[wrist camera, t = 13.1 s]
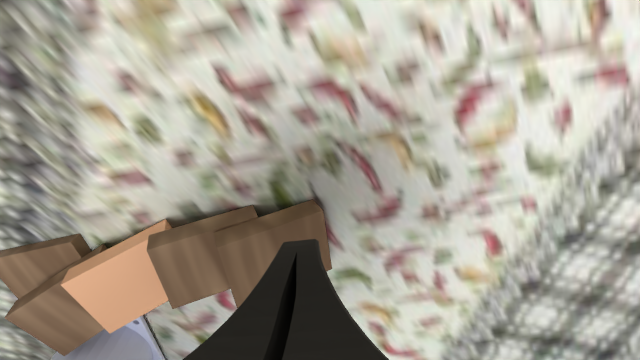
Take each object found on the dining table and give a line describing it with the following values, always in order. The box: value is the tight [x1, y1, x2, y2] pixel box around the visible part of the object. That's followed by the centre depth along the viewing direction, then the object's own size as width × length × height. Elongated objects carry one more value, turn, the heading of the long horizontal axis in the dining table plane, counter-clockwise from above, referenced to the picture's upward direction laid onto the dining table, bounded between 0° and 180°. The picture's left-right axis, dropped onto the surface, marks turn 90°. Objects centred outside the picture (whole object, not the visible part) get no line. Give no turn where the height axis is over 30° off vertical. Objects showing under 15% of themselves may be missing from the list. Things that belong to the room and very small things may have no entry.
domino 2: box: [5, 244, 108, 356], centre depth 25 cm, size 2×5×7 cm
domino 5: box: [213, 199, 332, 308], centre depth 23 cm, size 2×5×7 cm
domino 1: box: [0, 234, 92, 299], centre depth 27 cm, size 2×5×7 cm
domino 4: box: [147, 205, 258, 309], centre depth 24 cm, size 2×5×7 cm
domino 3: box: [61, 219, 172, 333], centre depth 24 cm, size 2×5×7 cm
